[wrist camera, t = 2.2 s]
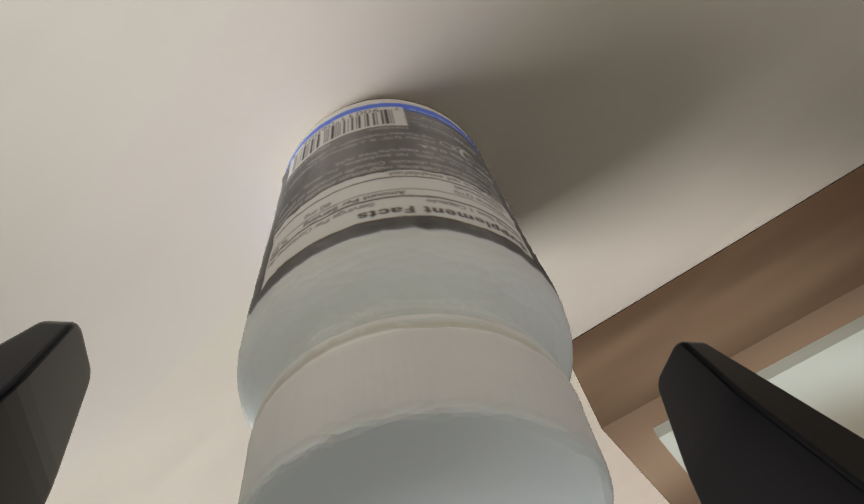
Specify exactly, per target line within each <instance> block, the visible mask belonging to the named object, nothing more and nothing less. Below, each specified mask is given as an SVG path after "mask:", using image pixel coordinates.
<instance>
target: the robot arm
mask: <svg viewBox="0 0 864 504" xmlns="http://www.w3.org/2000/svg"><path fill="white" fill-rule="evenodd" d="M89 380H90V364H89V360H88V356H87V352H86V347H85V343H84V339H83V335H82V331H81V329H80V327H79V326H78V325H77V324H76V323H74V322H60V321H44V322H40V323H38V324H36V325H34V326H32V327H30V328H29V329H27V330H25V331H23V332H22V333H20V334H18V335H16V336H14V337H13V338H11V339H9V340H7V341H5V342H4V343H2V344H0V504H45V502H46V500H47V498H48V496H49V494H50V491H51V489H52V487H53V484H54V481H55V479H56V476H57V473H58V471H59V468H60V465H61V462H62V459H63V456H64V453H65V450H66V448H67V445H68V442H69V439H70V436H71V433H72V430H73V427H74V425H75V422H76V419H77V416H78V413H79V410H80V407H81V404H82V402H83V399H84V396H85V393H86V390H87V387H88V384H89ZM658 389H659V393H660V396H661V399H662V402H663V405H664V408H665V411H666V413H667V416H668V419H669V422H670V425H671V428H672V431H673V434H674V437H675V439H676V442H677V445H678V448H679V451H680V454H681V457H682V460H683V462H684V465H685V468H686V470H687V473H688V476H689V478H690V480H691V483H692V485H693V487H694V490H695V492H696V494H697V496H698V499H699V501H700V503H701V504H864V439H863V438H862V437H860V436H858V435H857V434H855V433H854V432H852V431H850V430H849V429H847V428H845V427H844V426H842V425H840V424H839V423H837V422H835V421H834V420H832V419H830V418H829V417H827V416H825V415H824V414H822V413H820V412H819V411H817V410H815V409H814V408H812V407H810V406H809V405H807V404H805V403H804V402H802V401H801V400H799V399H797V398H796V397H794V396H792V395H791V394H789V393H787V392H786V391H784V390H782V389H781V388H779V387H777V386H776V385H774V384H772V383H771V382H769V381H767V380H766V379H764V378H762V377H761V376H759V375H757V374H756V373H754V372H752V371H751V370H749V369H748V368H746V367H744V366H743V365H741V364H739V363H738V362H736V361H734V360H733V359H731V358H729V357H728V356H726V355H724V354H723V353H721V352H719V351H718V350H716V349H714V348H713V347H711V346H709V345H708V344H706V343H703V342H691V341H682V342H679V343H677V344H676V345H675V346H674V348H673V350H672V352H671V354H670V356H669V358H668V360H667V362H666V364H665V366H664V368H663V370H662V372H661V374H660V376H659V380H658Z"/></svg>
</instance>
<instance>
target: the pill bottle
mask: <svg viewBox="0 0 864 504" xmlns="http://www.w3.org/2000/svg"><path fill="white" fill-rule="evenodd" d="M572 365H573V346H572V337H571V332H570V327H569V324H568V321H567V318H566V315H565V312H564V309H563V305H562V303H561V301H560V298H559V296H558V294H557V292H556V290H555V288H554V286H553V284H552V282H551V280H550V279H549V277H548V275H547V274H546V272H545V271H544V269H543V267H542V266H541V264H540V263H539V261H538V259H537V257H536V255H535V254H534V253H533V252H532V249H531V247H530V245H529V244H528V243H527V240H526V239H525V237H524V235H523V234H522V232H521V230H520V228H519V225H518V223H517V221H516V219H515V218H514V217H513V215H512V212H511V210H510V207H509V205H508V203H507V202H506V200H505V199H504V198H503V196H502V194H501V193H500V190H499V188H498V187H497V185H496V183H495V181H494V180H493V178H492V176H491V174H490V172H489V170H488V169H487V167H486V165H485V163H484V161H483V159H482V157H481V156H480V154H479V152H478V150H477V149H476V147H475V146H474V144H473V143H472V141H471V140H470V138H469V137H468V136H467V135H466V133H465V132H464V131H463V130H462V129H461V128H460V127H459V126H458V125H457V124H456V123H454V122H453V121H451V120H450V119H449V118H447V117H446V116H444V115H443V114H441V113H439V112H437V111H435V110H433V109H431V108H429V107H426V106H423V105H420V104H417V103H413V102H408V101H403V100H397V99H378V100H367V101H363V102H359V103H356V104H352V105H350V106H347V107H345V108H342V109H340V110H338V111H336V112H334V113H332V114H330V115H329V116H327V117H326V118H324V119H323V120H321V121H320V122H319V123H318V124H316V125H315V126H314V127H313V128H312V129H311V130H310V131H309V132H308V133H307V134H306V135H305V137H304V138H303V139H302V141H301V142H300V143H299V145H298V147H297V148H296V150H295V151H294V153H293V155H292V157H291V159H290V161H289V164H288V167H287V169H286V172H285V175H284V177H283V179H282V187H281V191H280V195H279V199H278V202H277V206H276V210H275V214H274V218H273V221H272V225H271V229H270V233H269V237H268V240H267V244H266V248H265V252H264V256H263V260H262V264H261V268H260V271H259V275H258V278H257V282H256V285H255V290H254V294H253V298H252V301H251V304H250V308H249V311H248V315H247V321H246V325H245V328H244V333H243V337H242V341H241V346H240V350H239V357H238V366H237V382H238V392H239V397H240V401H241V405H242V408H243V411H244V414H245V416H246V419H247V421H248V423H249V426H250V428H251V429H252V433H251V436H250V440H249V444H248V450H247V457H246V463H245V469H244V475H243V480H242V486H241V491H240V497H239V502H238V504H613V501H614V496H613V486H612V481H611V477H610V473H609V470H608V467H607V464H606V462H605V459H604V457H603V455H602V453H601V450H600V448H599V446H598V443H597V441H596V439H595V436H594V434H593V432H592V429H591V427H590V425H589V423H588V420H587V418H586V416H585V413H584V410H583V407H582V404H581V402H580V400H579V397H578V395H577V393H576V392H575V390H574V388H573V386H572V385H571V383H570V379H571V374H572Z"/></svg>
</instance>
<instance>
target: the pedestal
mask: <svg viewBox="0 0 864 504" xmlns="http://www.w3.org/2000/svg"><path fill="white" fill-rule="evenodd" d="M682 341H691V342H703V343H706V344H708V345H709V346H711V347H713V348H714V349H716V350H718V351H719V352H721V353H723V354H724V355H726V356H728V357H729V358H731V359H733V360H734V361H736V362H738V363H739V364H741V365H743V366H744V367H746V368H748V369H749V370H751V371H752V372H754V373H756V374H757V375H759V376H761V377H762V378H764V379H766V380H767V381H769V382H771V383H772V384H774V385H776V386H777V387H779V388H781V389H782V390H784V391H786V392H787V393H789V394H791V395H792V396H794V397H796V398H797V399H799V400H801V401H802V402H804V403H805V404H807V405H809V406H810V407H812V408H814V409H815V410H817V411H819V412H820V413H822V414H824V415H825V416H827V417H829V418H830V419H832V420H834V421H835V422H837V423H839V424H840V425H842V426H844V427H845V428H847V429H849V430H850V431H852V432H854V433H855V434H857V435H858V436H860V437H862V438H863V439H864V165H863V166H861V167H860V168H858V169H856V170H855V171H853V172H851V173H850V174H848V175H846V176H845V177H843V178H841V179H840V180H838V181H836V182H835V183H833V184H831V185H830V186H828V187H827V188H825V189H823V190H822V191H820V192H818V193H817V194H815V195H813V196H812V197H810V198H808V199H807V200H805V201H803V202H802V203H800V204H798V205H797V206H795V207H793V208H792V209H790V210H788V211H787V212H785V213H783V214H782V215H780V216H778V217H777V218H775V219H774V220H772V221H770V222H769V223H767V224H765V225H764V226H762V227H760V228H759V229H757V230H755V231H754V232H752V233H750V234H749V235H747V236H745V237H744V238H742V239H740V240H739V241H737V242H735V243H734V244H732V245H730V246H729V247H727V248H725V249H724V250H722V251H721V252H719V253H717V254H716V255H714V256H712V257H711V258H709V259H707V260H706V261H704V262H702V263H701V264H699V265H697V266H696V267H694V268H692V269H691V270H689V271H687V272H686V273H684V274H682V275H681V276H679V277H677V278H676V279H674V280H672V281H671V282H669V283H668V284H666V285H664V286H663V287H661V288H659V289H658V290H656V291H654V292H653V293H651V294H649V295H648V296H646V297H644V298H643V299H641V300H639V301H638V302H636V303H634V304H633V305H631V306H629V307H628V308H626V309H624V310H623V311H621V312H619V313H618V314H616V315H614V316H613V317H611V318H610V319H608V320H606V321H605V322H603V323H601V324H600V325H598V326H596V327H595V328H593V329H591V330H590V331H588V332H586V333H585V334H583V335H581V336H580V337H578V338H576V339H575V340H573V341H572V346H573V365H572V368H573V370H574V372H575V375H576V377H577V379H578V381H579V383H580V385H581V387H582V389H583V391H584V393H585V395H586V397H587V399H588V401H589V403H590V406H591V408H592V410H593V412H594V414H595V416H596V418H597V420H598V422H599V424H600V426H601V428H602V429H603V431H604V432H605V433H606V434H607V435H608V436H609V437H610V438H611V439H612V440H613V442H614V443H615V444H616V445H617V446H618V447H619V448H620V449H621V450H622V451H623V453H624V454H625V455H626V456H627V457H628V458H629V459H630V460H631V461H632V462H633V464H634V465H635V466H636V467H637V468H638V469H639V470H640V471H641V472H642V473H643V475H644V476H645V477H646V478H647V479H648V480H649V481H650V482H651V483H652V484H653V486H654V487H655V488H656V489H657V490H658V491H659V492H660V493H661V494H662V495H663V496H664V498H665V499H666V500H667V501H668V502H669V503H670V504H701V503H700V501H699V499H698V496H697V494H696V492H695V490H694V487H693V485H692V483H691V480H690V478H689V476H688V473H687V470H686V468H685V465H684V462H683V460H682V457H681V454H680V451H679V448H678V445H677V442H676V439H675V437H674V434H673V431H672V428H671V425H670V422H669V419H668V416H667V413H666V411H665V408H664V405H663V402H662V399H661V396H660V393H659V389H658V380H659V376H660V374H661V372H662V370H663V368H664V366H665V364H666V362H667V360H668V358H669V356H670V354H671V352H672V350H673V348H674V346H675V345H676V344H677V343H679V342H682Z"/></svg>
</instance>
